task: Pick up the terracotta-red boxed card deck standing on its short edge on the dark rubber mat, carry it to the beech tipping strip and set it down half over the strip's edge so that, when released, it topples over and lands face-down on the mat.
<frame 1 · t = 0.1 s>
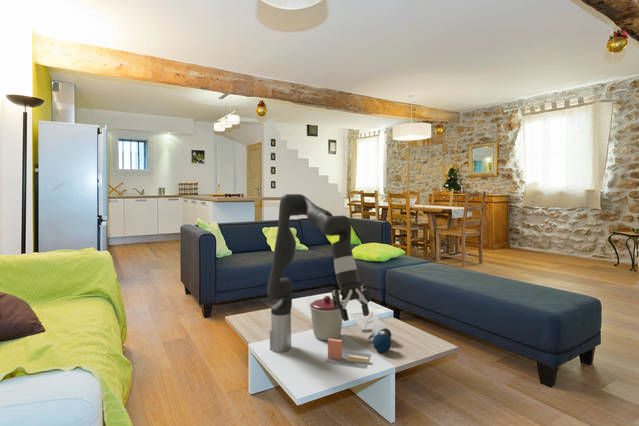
hand: (356, 318, 124), 31 cm above the table, tool tilted 20°, fingers open, 8 cm apart
ceramic mug: (378, 342, 181), on the table
canister: (327, 337, 186), on the table
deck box: (335, 357, 162), resting on mat
envelope: (367, 324, 206), on the table
christmas ornament: (382, 352, 169), on the table
mat: (348, 359, 162), on the table
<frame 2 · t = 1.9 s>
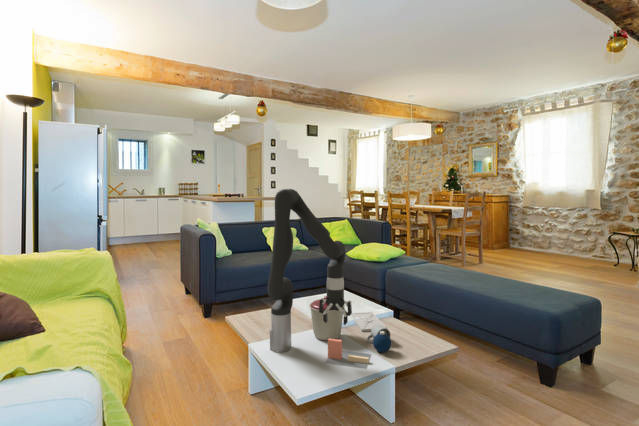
hand: (335, 323, 161), 16 cm above the table, tool pointing down, fingers open, 8 cm apart
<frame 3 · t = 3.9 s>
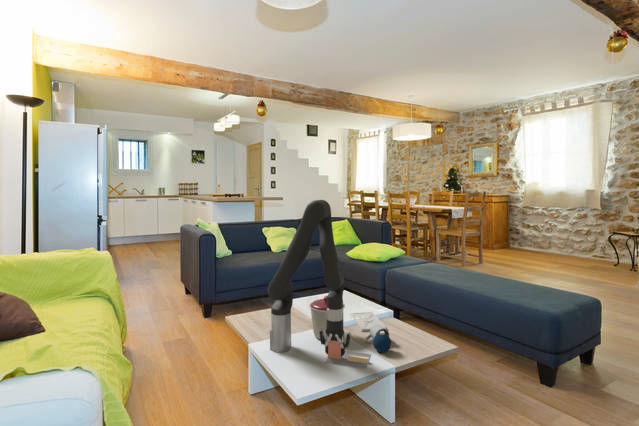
hand: (334, 354, 162), 2 cm above the table, tool pointing down, fingers closed on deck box, 6 cm apart
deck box: (335, 357, 162), resting on mat, touching gripper
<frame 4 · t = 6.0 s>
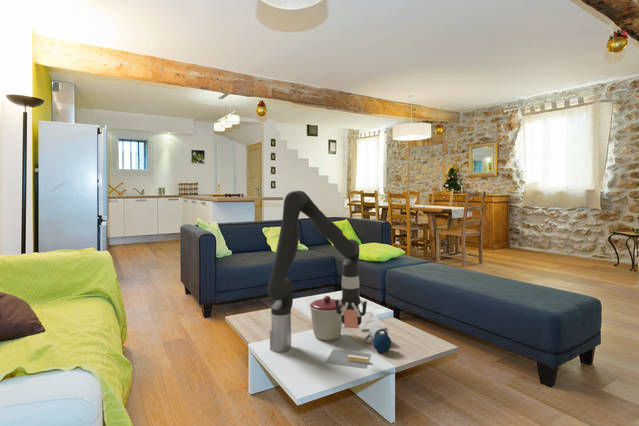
hand: (351, 323, 159), 16 cm above the table, tool pointing down, fingers closed on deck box, 6 cm apart
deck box: (351, 327, 160), point 15 cm above the table, touching gripper
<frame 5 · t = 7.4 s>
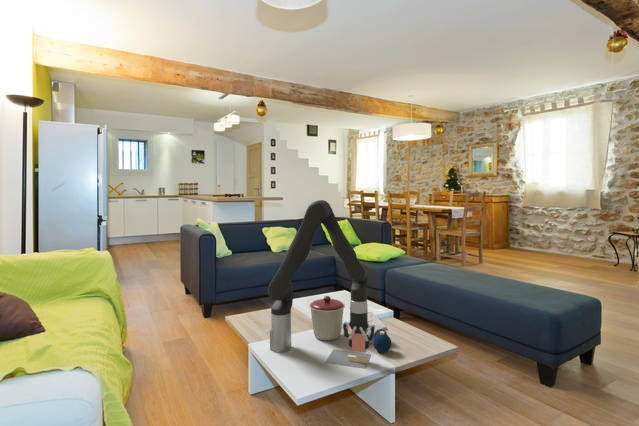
hand: (358, 347, 160), 6 cm above the table, tool pointing down, fingers closed on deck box, 6 cm apart
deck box: (358, 350, 160), point 5 cm above the table, touching gripper
when the fingers open (4 cm above the table, at t = 8.2 s): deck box drops 1 cm and tips over, resting on mat.
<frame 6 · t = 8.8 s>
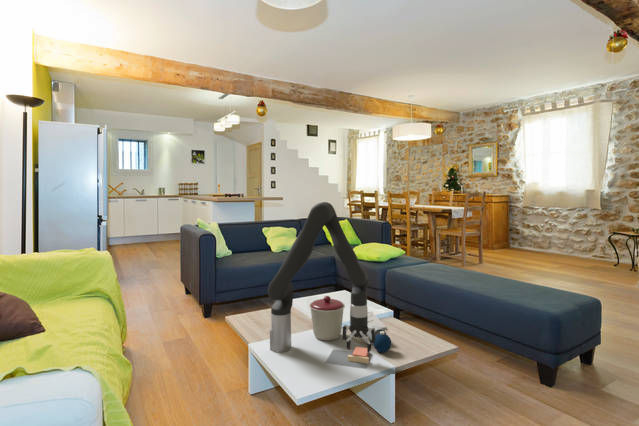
hand: (358, 350, 160), 5 cm above the table, tool pointing down, fingers open, 8 cm apart
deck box: (358, 357, 161), point 1 cm above the table, tilted 90°, touching mat
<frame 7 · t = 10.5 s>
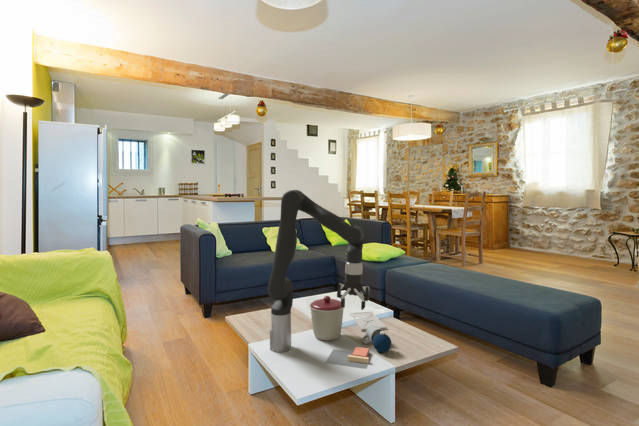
hand: (352, 308, 162), 22 cm above the table, tool pointing down, fingers open, 8 cm apart
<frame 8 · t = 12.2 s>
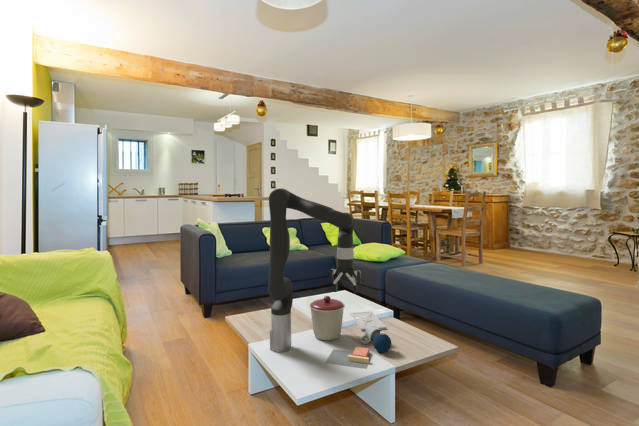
hand: (345, 292, 166), 28 cm above the table, tool pointing down, fingers open, 8 cm apart
at the end: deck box tilted 90°; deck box inside the target area (3.5 cm from its centre), point 1.4 cm above the table; the gripper is holding nothing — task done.
